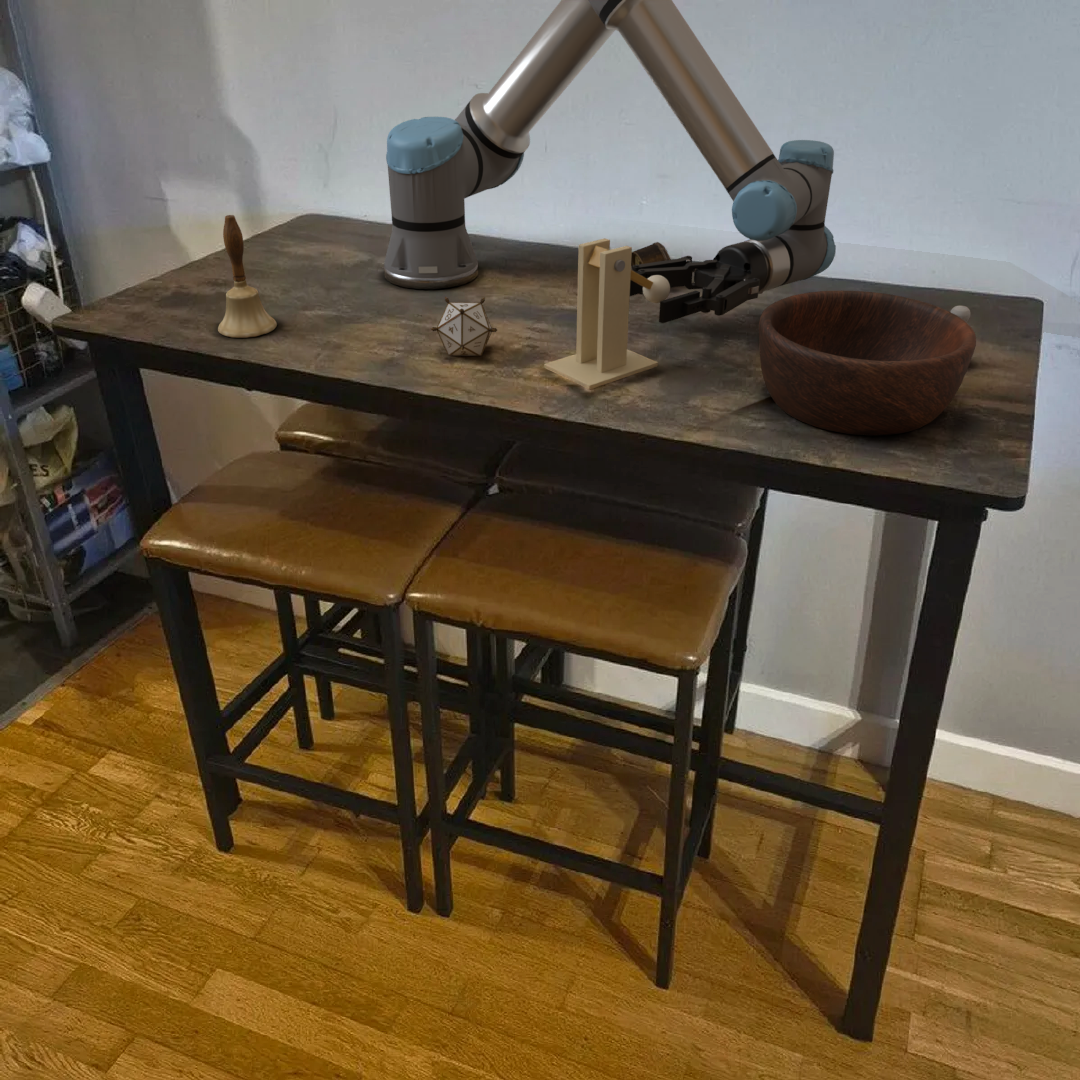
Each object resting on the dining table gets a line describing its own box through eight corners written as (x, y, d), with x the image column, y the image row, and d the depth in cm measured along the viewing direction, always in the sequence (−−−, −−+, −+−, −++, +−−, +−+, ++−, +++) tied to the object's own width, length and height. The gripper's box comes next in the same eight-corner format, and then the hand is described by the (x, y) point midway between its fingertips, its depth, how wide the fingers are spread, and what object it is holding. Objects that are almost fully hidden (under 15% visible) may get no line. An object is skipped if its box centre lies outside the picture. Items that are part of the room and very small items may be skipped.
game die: (471, 388, 144) (465, 350, 135) (423, 355, 146) (414, 315, 137) (512, 342, 147) (508, 301, 137) (464, 310, 149) (457, 268, 139)
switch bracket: (611, 352, 146) (616, 229, 137) (657, 372, 140) (665, 245, 131) (543, 373, 139) (544, 246, 130) (589, 395, 133) (593, 264, 124)
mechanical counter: (682, 267, 160) (679, 234, 167) (598, 259, 159) (598, 226, 166) (673, 308, 165) (670, 275, 172) (592, 300, 164) (592, 266, 172)
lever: (649, 302, 142) (660, 277, 142) (668, 309, 140) (679, 284, 139) (582, 266, 132) (593, 239, 131) (601, 273, 130) (613, 245, 129)
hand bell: (206, 333, 151) (186, 220, 143) (240, 314, 158) (223, 205, 149) (254, 341, 149) (237, 227, 140) (288, 322, 155) (273, 211, 147)
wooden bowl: (714, 379, 138) (721, 303, 132) (873, 353, 145) (886, 279, 140) (826, 464, 118) (841, 378, 112) (1004, 427, 126) (1025, 345, 120)
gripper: (808, 314, 145) (693, 354, 133) (690, 274, 159) (577, 306, 147) (815, 260, 141) (698, 295, 129) (694, 224, 155) (578, 253, 143)
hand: (634, 301), depth 138 cm, fingers open, 9 cm apart
